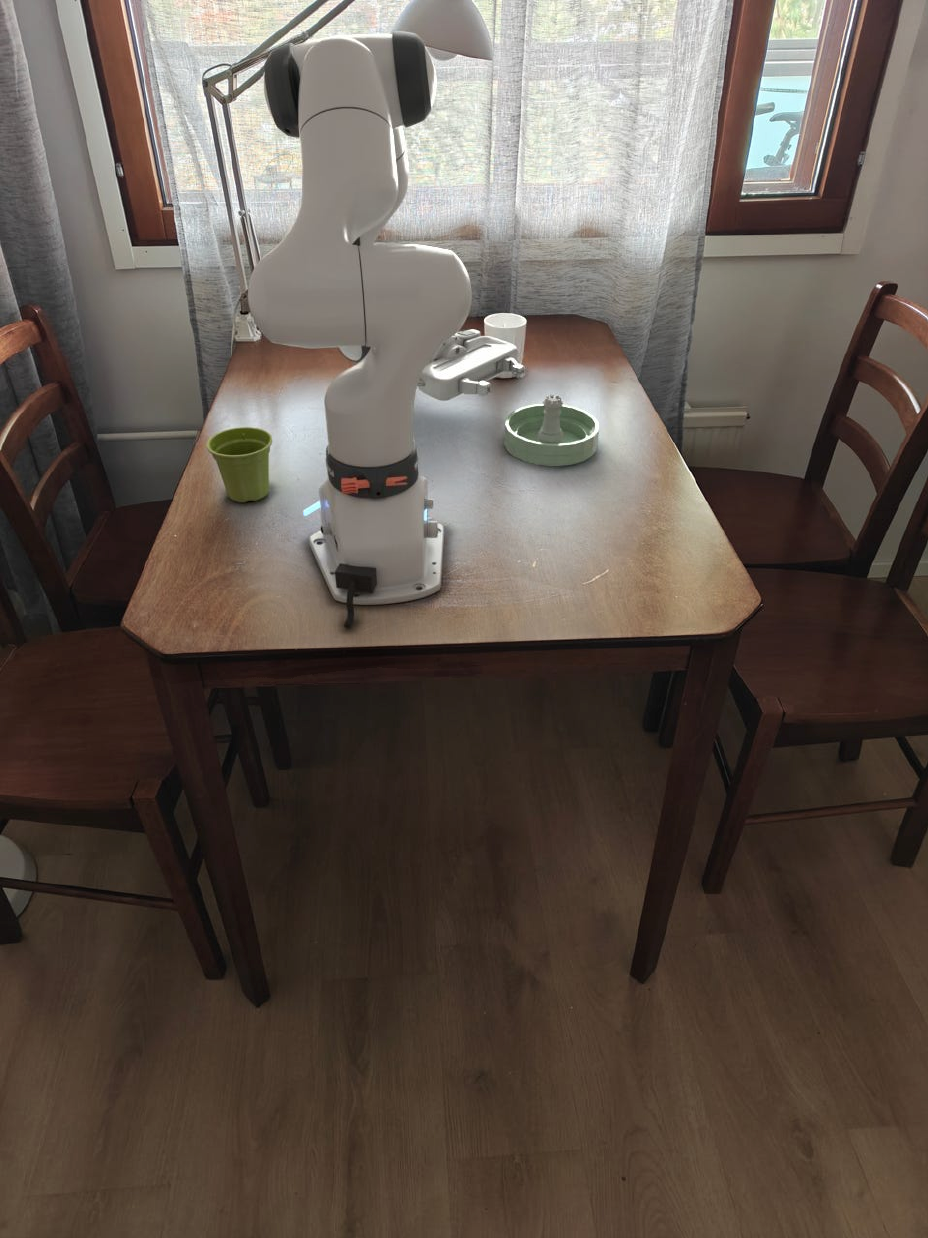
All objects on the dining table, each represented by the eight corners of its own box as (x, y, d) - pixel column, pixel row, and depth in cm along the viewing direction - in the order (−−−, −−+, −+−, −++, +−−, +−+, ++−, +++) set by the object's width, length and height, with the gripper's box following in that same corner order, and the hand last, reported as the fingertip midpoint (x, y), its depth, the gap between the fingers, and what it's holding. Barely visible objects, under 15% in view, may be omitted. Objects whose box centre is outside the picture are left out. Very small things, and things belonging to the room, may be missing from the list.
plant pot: (203, 499, 131) (192, 446, 125) (243, 472, 137) (235, 421, 132) (253, 515, 127) (244, 461, 122) (292, 486, 134) (285, 434, 128)
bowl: (608, 465, 140) (611, 441, 137) (515, 472, 138) (516, 448, 135) (581, 423, 152) (583, 400, 149) (496, 430, 149) (496, 407, 147)
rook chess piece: (563, 437, 146) (567, 392, 141) (563, 450, 142) (567, 404, 138) (536, 436, 146) (539, 391, 141) (536, 448, 143) (538, 402, 138)
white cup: (520, 381, 166) (523, 329, 159) (479, 377, 167) (480, 325, 161) (526, 365, 172) (529, 314, 165) (487, 362, 173) (488, 311, 167)
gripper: (400, 360, 143) (465, 382, 136) (479, 326, 155) (543, 345, 148) (402, 396, 147) (465, 419, 140) (479, 360, 159) (540, 380, 152)
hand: (506, 381), depth 144 cm, fingers open, 8 cm apart
